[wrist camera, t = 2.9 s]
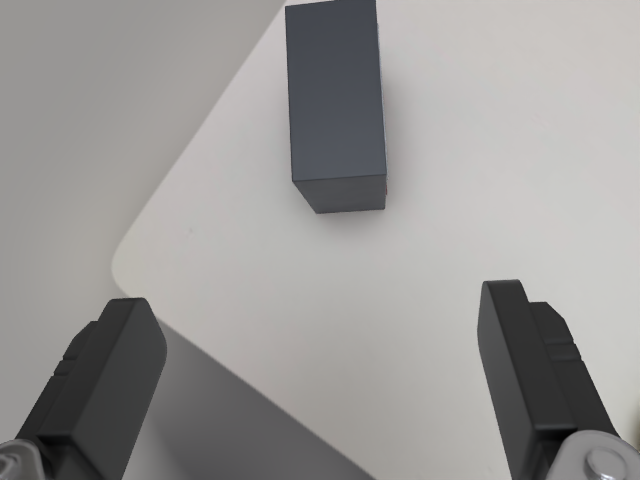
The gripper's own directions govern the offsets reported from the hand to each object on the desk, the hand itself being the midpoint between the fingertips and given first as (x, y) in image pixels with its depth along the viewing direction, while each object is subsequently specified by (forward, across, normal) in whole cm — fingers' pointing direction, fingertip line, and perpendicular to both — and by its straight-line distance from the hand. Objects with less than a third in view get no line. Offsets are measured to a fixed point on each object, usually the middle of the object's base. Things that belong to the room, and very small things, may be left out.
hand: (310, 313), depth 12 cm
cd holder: (+24, 0, +8) cm, 26 cm away
